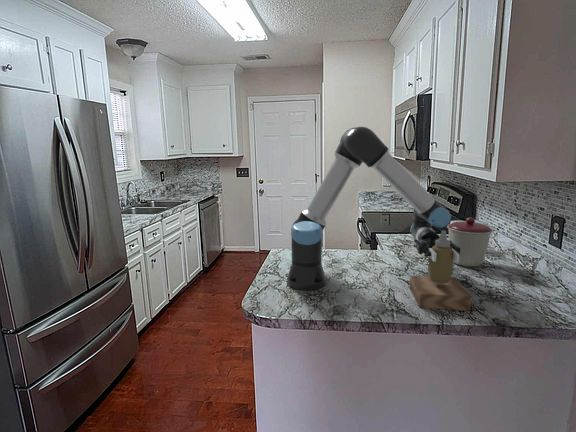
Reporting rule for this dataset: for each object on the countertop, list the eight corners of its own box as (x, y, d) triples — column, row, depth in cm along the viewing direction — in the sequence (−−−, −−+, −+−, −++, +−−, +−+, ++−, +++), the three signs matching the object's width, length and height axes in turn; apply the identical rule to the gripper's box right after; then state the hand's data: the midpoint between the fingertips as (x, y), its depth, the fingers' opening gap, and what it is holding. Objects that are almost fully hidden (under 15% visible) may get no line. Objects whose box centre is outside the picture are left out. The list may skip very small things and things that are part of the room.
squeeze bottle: (452, 278, 124) (457, 229, 120) (451, 287, 117) (456, 234, 113) (428, 274, 128) (432, 226, 124) (425, 282, 121) (429, 232, 117)
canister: (497, 265, 156) (502, 218, 152) (474, 273, 147) (479, 224, 142) (458, 254, 171) (463, 211, 167) (435, 261, 162) (439, 216, 157)
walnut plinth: (419, 307, 117) (420, 293, 116) (409, 288, 133) (410, 275, 132) (470, 310, 115) (471, 296, 114) (453, 290, 131) (455, 277, 130)
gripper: (453, 248, 137) (476, 270, 115) (401, 247, 140) (415, 267, 117) (454, 230, 136) (478, 248, 113) (403, 229, 138) (416, 246, 116)
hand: (446, 258), depth 116 cm, fingers closed on squeeze bottle, 6 cm apart
